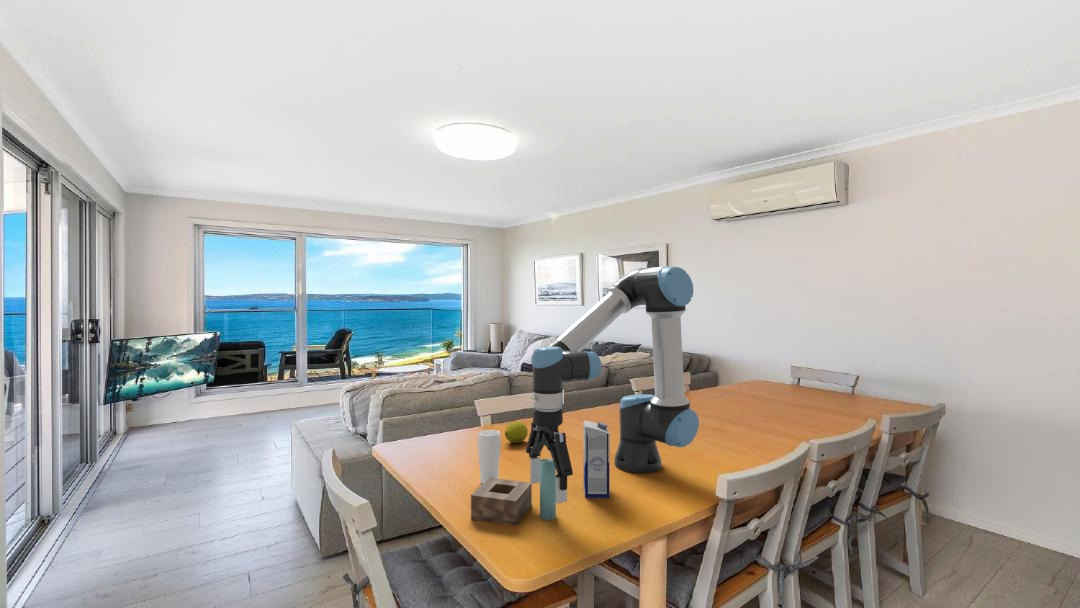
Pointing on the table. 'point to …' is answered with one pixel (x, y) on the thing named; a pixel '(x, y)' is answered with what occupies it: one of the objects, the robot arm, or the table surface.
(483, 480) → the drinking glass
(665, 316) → the robot arm
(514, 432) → the lemon
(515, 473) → the table surface
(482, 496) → the bore block
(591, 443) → the milk carton
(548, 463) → the dowel
